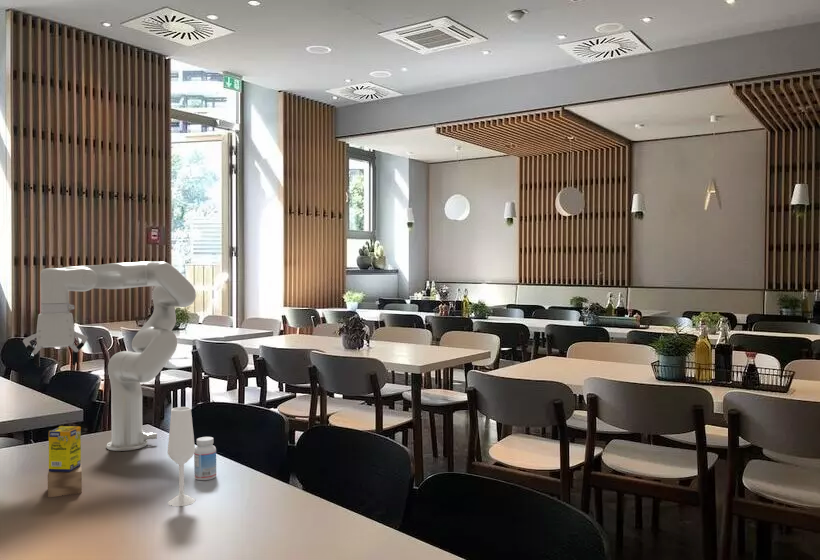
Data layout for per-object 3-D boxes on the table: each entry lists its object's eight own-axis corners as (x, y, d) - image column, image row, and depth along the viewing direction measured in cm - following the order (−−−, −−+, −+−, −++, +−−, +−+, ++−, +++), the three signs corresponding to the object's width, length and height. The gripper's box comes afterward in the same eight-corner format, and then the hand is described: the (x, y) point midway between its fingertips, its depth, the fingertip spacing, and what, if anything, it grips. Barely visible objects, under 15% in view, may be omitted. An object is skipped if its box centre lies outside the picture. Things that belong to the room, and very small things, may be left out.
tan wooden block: (81, 484, 191) (81, 463, 190) (81, 493, 183) (81, 471, 183) (48, 488, 187) (48, 467, 187) (47, 498, 180) (47, 475, 180)
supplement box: (70, 472, 182) (70, 431, 182) (48, 472, 182) (47, 431, 182) (81, 465, 188) (81, 426, 188) (60, 465, 188) (59, 425, 188)
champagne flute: (194, 495, 181) (194, 405, 181) (196, 504, 175) (195, 410, 175) (167, 498, 179) (166, 407, 178) (168, 507, 173) (167, 412, 172)
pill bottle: (219, 474, 200) (219, 436, 199) (211, 481, 193) (211, 441, 193) (199, 474, 200) (199, 435, 200) (190, 480, 194) (190, 441, 194)
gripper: (87, 307, 214) (88, 362, 214) (23, 309, 207) (24, 366, 207) (86, 309, 207) (87, 365, 208) (21, 311, 200) (22, 369, 200)
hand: (56, 365), depth 207 cm, fingers open, 9 cm apart
